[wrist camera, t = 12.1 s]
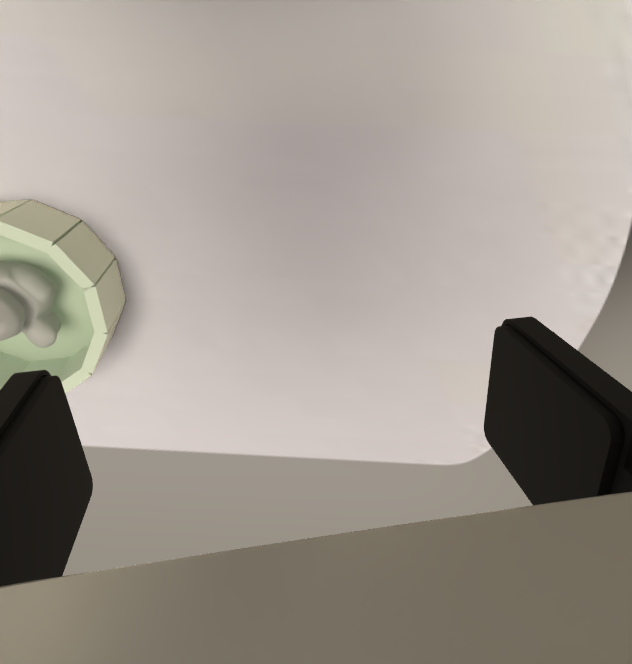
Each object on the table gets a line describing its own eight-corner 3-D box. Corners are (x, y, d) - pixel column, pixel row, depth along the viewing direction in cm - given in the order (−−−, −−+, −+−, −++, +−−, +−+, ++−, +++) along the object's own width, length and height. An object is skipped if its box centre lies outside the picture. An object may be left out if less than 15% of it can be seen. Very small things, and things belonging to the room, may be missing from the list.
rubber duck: (19, 234, 34) (-39, 271, 27) (93, 303, 37) (59, 353, 30) (-36, 281, 35) (-105, 329, 28) (41, 345, 38) (-4, 404, 31)
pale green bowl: (-94, 209, 34) (-156, 231, 28) (100, 193, 35) (76, 212, 30) (-27, 371, 39) (-69, 415, 34) (138, 353, 41) (123, 392, 35)
